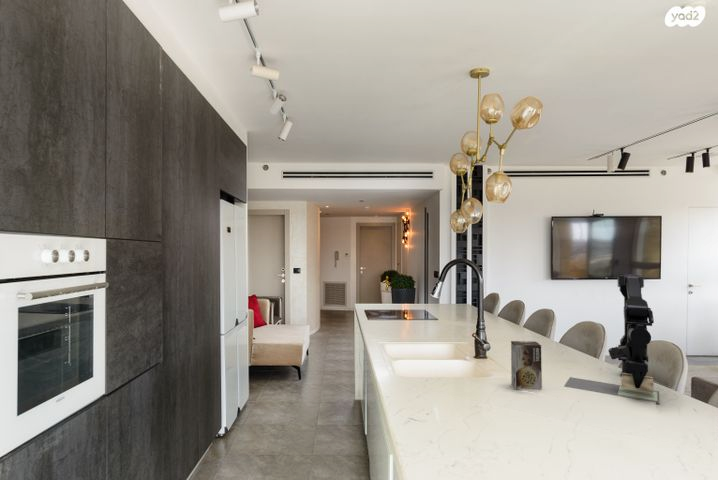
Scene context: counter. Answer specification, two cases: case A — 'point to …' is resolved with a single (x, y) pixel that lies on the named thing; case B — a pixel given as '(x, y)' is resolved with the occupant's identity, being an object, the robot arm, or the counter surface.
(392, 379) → the counter surface
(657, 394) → the mat
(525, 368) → the coffee box
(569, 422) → the counter surface
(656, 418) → the counter surface
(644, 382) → the taped cardboard box
